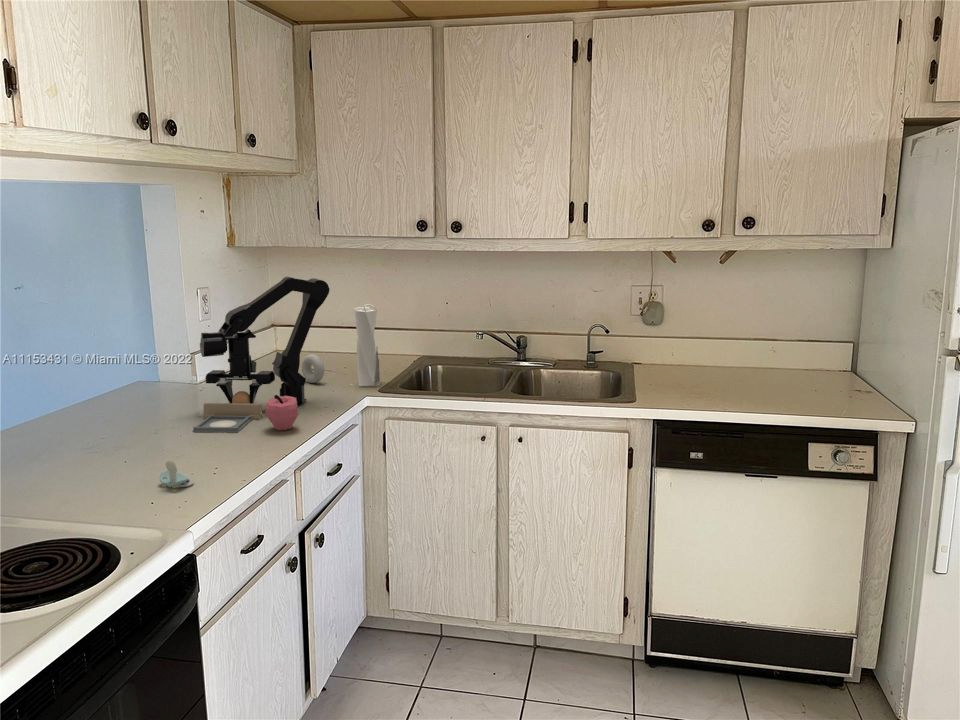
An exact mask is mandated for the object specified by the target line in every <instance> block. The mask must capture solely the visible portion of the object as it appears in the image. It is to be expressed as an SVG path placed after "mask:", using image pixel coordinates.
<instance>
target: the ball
mask: <svg viewBox="0 0 960 720" xmlns="http://www.w3.org/2000/svg"><path fill="white" fill-rule="evenodd" d="M232 403H243V404H250V393H249V392H247V391H244V390H243V391H242V390H241V391H237V392H236V393H234V394H233V398H232Z"/></svg>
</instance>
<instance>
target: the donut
mask: <svg viewBox="0 0 960 720" xmlns="http://www.w3.org/2000/svg"><path fill="white" fill-rule="evenodd" d="M312 366H313V368H312ZM313 371H314V372H313ZM301 373H302V376H303V377H304V378H306V381H307V382H308V383H310V384H317V383H320V382H321V381H322V380H323V378H324V376H325V365H324V362H323V361H322V358H321V357H319V355H317V354H314V353H313V354H312V353H311V354H307V355H306V356H304V357H303V360H302V362H301Z"/></svg>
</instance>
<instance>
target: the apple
mask: <svg viewBox="0 0 960 720" xmlns="http://www.w3.org/2000/svg"><path fill="white" fill-rule="evenodd" d="M264 411H265V415H266V417H267V418H268V420H269V422H270V423H271V424H272V425H273V427H274V429H276V430H277V431H278V430H279V431H288V430H287V429H289V430H291V428H292V427H293V425H294V424H295V422H296V421H297V418H298V416H299V413H298V412H299V411H298V406H297V401H296V398H294V397H291V396H280V395H278V394H275V395H274V397H272V398H270V399H268V401H267V403H266V405H265V410H264Z"/></svg>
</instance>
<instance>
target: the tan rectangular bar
mask: <svg viewBox="0 0 960 720" xmlns="http://www.w3.org/2000/svg"><path fill="white" fill-rule="evenodd" d="M263 415H264V414H263V411H262V403H254V404H243V403H229V402H227V403H225V402H204V403H203V415H202V419H203V418H205V419H206V418H208V416H251V418H252V420H261V419H262V418H263ZM260 418H261V419H260ZM205 419H204V420H205Z"/></svg>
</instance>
